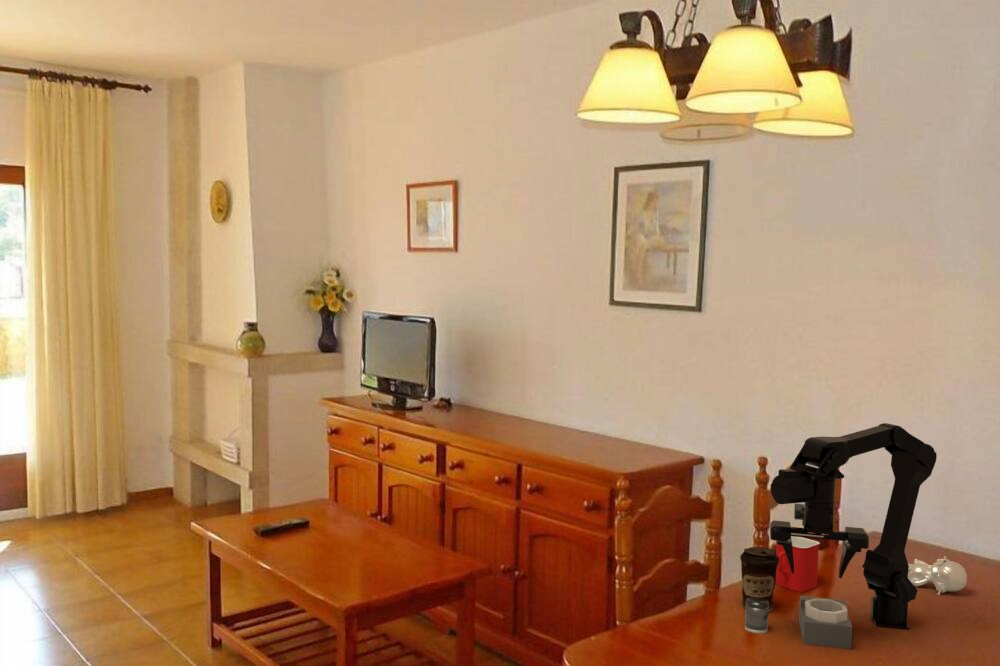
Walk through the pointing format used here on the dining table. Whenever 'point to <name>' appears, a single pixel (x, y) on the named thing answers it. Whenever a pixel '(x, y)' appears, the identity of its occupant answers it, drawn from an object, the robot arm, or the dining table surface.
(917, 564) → the figurine
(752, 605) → the lens
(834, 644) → the camera body
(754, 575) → the coffee cup
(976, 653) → the dining table surface
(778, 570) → the mug
